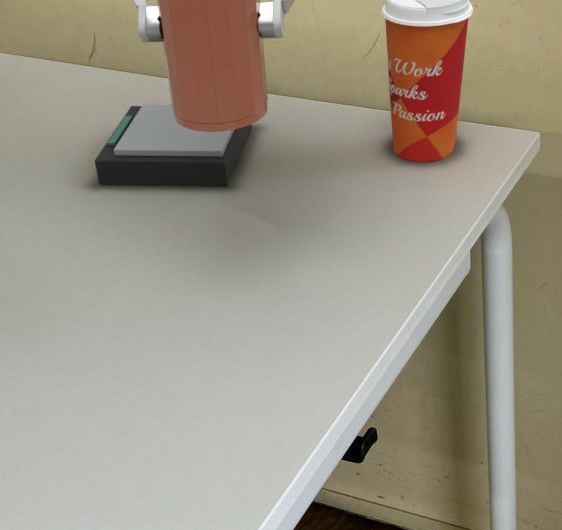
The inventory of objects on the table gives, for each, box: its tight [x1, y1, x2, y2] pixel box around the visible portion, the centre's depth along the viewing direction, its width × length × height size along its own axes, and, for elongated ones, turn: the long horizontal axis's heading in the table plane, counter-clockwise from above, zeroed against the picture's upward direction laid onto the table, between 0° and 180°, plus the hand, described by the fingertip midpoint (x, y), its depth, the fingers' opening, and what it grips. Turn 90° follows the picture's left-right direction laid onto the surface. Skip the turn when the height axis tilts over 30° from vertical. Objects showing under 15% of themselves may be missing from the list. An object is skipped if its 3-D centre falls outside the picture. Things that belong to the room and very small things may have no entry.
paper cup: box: [380, 0, 474, 163], centre depth 89 cm, size 8×8×14 cm
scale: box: [94, 103, 253, 187], centre depth 94 cm, size 12×12×3 cm
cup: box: [156, 0, 269, 132], centre depth 66 cm, size 6×6×10 cm
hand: (211, 36), depth 65 cm, fingers closed on cup, 6 cm apart
